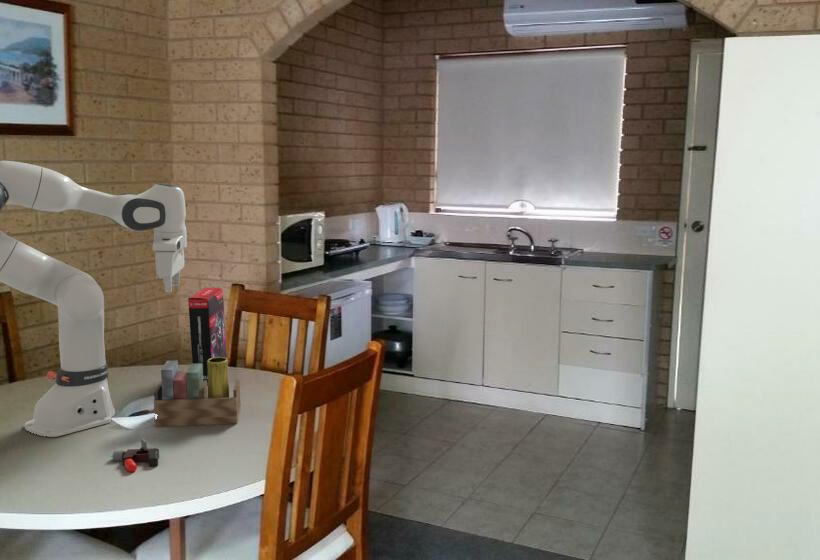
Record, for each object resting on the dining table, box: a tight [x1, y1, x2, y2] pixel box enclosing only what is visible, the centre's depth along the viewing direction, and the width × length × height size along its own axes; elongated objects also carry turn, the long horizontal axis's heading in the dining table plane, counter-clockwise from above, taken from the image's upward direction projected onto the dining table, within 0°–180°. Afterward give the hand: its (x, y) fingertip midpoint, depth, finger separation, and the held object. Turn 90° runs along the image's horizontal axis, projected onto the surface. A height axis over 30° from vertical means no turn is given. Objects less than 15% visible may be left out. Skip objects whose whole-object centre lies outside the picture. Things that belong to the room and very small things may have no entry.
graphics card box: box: [187, 287, 228, 384], centre depth 239 cm, size 17×7×27 cm, turn 179°
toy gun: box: [109, 437, 160, 473], centre depth 175 cm, size 10×12×5 cm
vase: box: [207, 357, 230, 398], centre depth 203 cm, size 6×6×14 cm
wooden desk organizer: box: [153, 360, 242, 428], centre depth 203 cm, size 21×11×15 cm, turn 97°
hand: (172, 288), depth 217 cm, fingers open, 8 cm apart
